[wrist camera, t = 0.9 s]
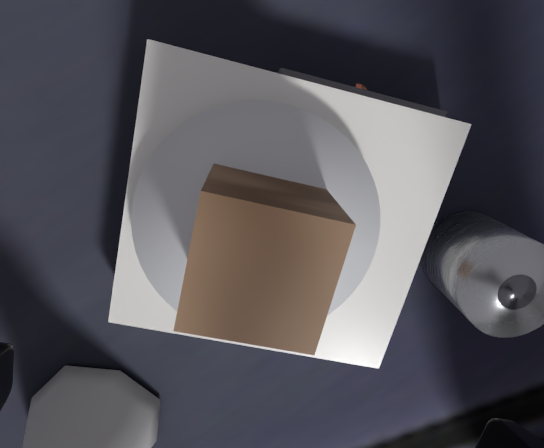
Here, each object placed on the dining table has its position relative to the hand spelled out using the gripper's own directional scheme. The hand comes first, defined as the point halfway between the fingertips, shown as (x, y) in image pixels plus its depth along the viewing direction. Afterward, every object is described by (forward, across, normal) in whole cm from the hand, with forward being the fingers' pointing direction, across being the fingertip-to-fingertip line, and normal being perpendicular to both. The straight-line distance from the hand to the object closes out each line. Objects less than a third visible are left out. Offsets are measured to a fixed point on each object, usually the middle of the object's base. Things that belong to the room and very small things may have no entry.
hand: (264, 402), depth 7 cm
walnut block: (+9, 0, 0) cm, 9 cm away
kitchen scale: (+13, -1, 0) cm, 13 cm away
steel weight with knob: (+13, -11, 0) cm, 17 cm away
